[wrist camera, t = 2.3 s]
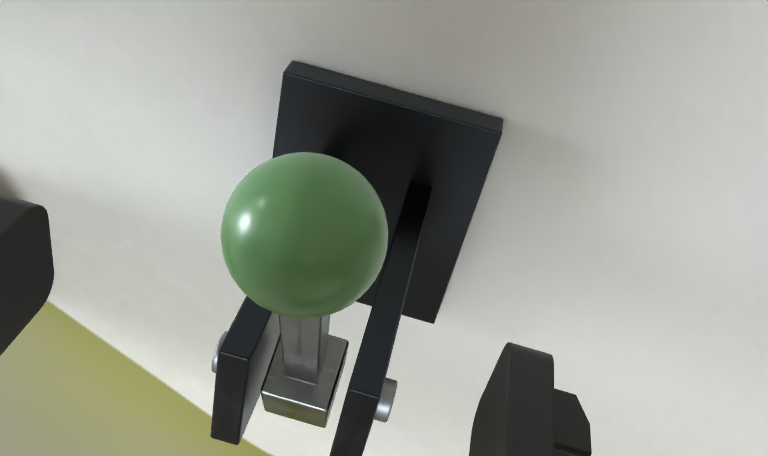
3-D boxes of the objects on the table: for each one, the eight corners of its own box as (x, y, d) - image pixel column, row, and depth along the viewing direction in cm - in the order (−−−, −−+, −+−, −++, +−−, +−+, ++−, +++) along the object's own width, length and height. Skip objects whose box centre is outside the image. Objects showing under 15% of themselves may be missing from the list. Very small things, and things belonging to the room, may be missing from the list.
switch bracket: (291, 59, 29) (152, 247, 19) (504, 119, 29) (478, 341, 19) (265, 258, 36) (151, 476, 26) (437, 308, 36) (391, 547, 25)
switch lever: (248, 99, 13) (182, 250, 12) (416, 146, 13) (369, 304, 12) (276, 331, 26) (245, 418, 24) (361, 356, 25) (336, 444, 24)
